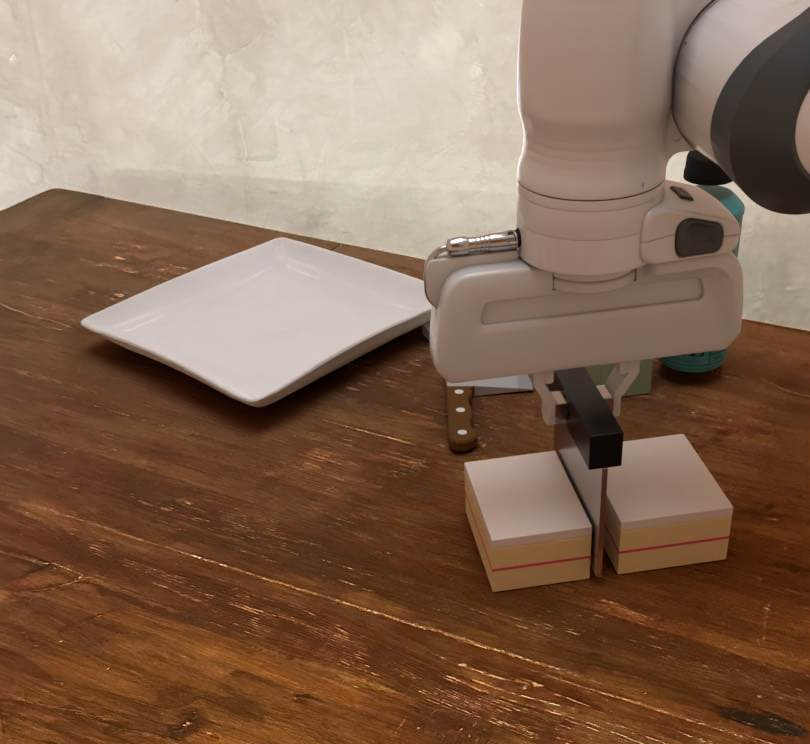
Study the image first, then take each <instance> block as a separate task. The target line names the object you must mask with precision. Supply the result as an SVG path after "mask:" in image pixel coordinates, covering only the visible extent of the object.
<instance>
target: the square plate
mask: <svg viewBox="0 0 810 744" xmlns="http://www.w3.org/2000/svg"><path fill="white" fill-rule="evenodd" d="M431 308H432V305H431V304H430V302H429V301H428V300H427V298H426V296H425V292H424V279H420V278H417V277H414V276H411V275H408V274H406V273H403V272H400V271H397V270H394V269H391V268H388V267H384V266H382V265H378V264H375V263H372V262H369V261H365V260H362V259H359V258H356V257H353V256H351V255H346V254H344V253H340V252H336V251H333V250H330V249H326V248H324V247H320V246H317V245H313V244H310V243H306V242H303V241H300V240H295V239H292V238H288V237H282V236H281V237H275V238H273V239H271V240H268V241H265V242H263V243H261V244H258V245H256V246H253V247H251V248H248V249H245V250H242V251H239V252H237V253H235V254H231V255H229V256H226V257H224V258H221V259H219V260H216V261H214V262H211V263H208V264H206V265H204V266H200V267H198V268H196V269H193V270H191V271H189V272H188V271H187V272H185V273H184V274H181V275H179V276H176V277H174V278H172V279H169V280H167V281H165V282H162V283H159V284H157V285H155V286H153V287H150V288H148V289H146V290H144V291H142V292H140V293H137V294H135V295H133V296H130V297H128V298H126V299H124V300H121V301H119V302H117V303H115V304H113V305H110V306H107V307H106V308H103V309H102V310H99V311H97V312H95V313H92V314H90V315H88V316H86V317H84V318H83V319H81V321H80V325H81V326H82V327H83V328H85V329H87V330H89V331H92V332H93V333H96V334H98V335H99V336H101V337H103V338H105V339H106V340H108V341H110V342H112V343H114V344H116V345H118V346H119V347H123V348H124V349H126V350H129V351H131V352H134V353H137V354H139V355H141V356H144V357H147V358H148V359H152V360H153V361H157V362H159V363H161V364H163V365H166V366H168V367H170V368H172V369H174V370H176V371H177V372H180V373H183V374H185V375H187V376H189V377H190V378H192V379H195V380H197V381H198V382H200V383H202V384H204V385H206V386H208V387H210V388H211V389H214V390H215V391H218V392H219V393H222V394H224V395H225V396H227V397H229V398H230V399H232V400H233V399H234V400H235V401H238V402H241V403H243V404H245V405H248V406H251V407H255V408H263V407H268V406H269V405H271V404H274V403H276V402H278V401H279V400H282V399H283V398H286V397H287V396H289V395H291V394H293V393H295V392H297V391H299V390H301V389H303V388H305V387H306V386H308V385H310V384H312V383H314V382H316V381H317V380H319V379H322V378H323V377H325V376H327V375H328V374H331V373H333V372H334V371H336V370H338V369H340V368H342V367H343V366H345V365H347V364H349V363H351V362H354V361H356V360H357V359H359V358H361V357H362V356H364V355H366V354H368V353H370V352H372V351H374V350H376V349H379V348H380V347H383V346H385V345H386V344H388V343H390V342H391V341H393V340H394V339H396V338H399V337H400V336H402V335H405V334H407V333H409V332H411V331H413V330H414V329H416V328H418V327H420V326H422V324H424V323H426V322H428V321H430V319H431Z"/></svg>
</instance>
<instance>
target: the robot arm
mask: <svg viewBox="0 0 810 744" xmlns="http://www.w3.org/2000/svg"><path fill="white" fill-rule="evenodd" d="M516 63H517V64H516V65H517V66H516V105H517V111H518V114H519V118H520V120H521V125H522V126H521V127H522V132H523V134H522V137H523V138H522V149H521V153H520V156H519V158H518V163H517V168H516V229H511V230H510V229H509V230H502V231H495V232H488V233H484V234H480V235H475V236H467V235H458V236H454V237H450V238H448V239H447V238H446V239H445V244H442V245H440V246H438V247H436V248H435V249H433V251H431V252H430V254H429V255H428V256H427V257H426V259H425V261H424V265H423V268H422V275H423V276H422V277H423V281H424V292H425V296H426V298H427V300H428V301H429V302H430V304H431V305H432V308H431V319H430V341H429V354H430V358H431V361H432V364H433V367H434V369H435V371H436V372H437V373H438V374H439V376H440V377H442V378H443V379H444V381H445V380H446V381H447V382H449V383H461V382H469V381H477V380H484V379H492V378H500V377H509V376H517V375H525V374H527V375H528V377H529V379H530V381H531V383H532V385H533V389H535V391H536V393H537V394H538V395H539V397H540V398H541V416H542V419H543V421H544V423H545V425H546V426H554V425H557V424H564V423H568V415H567V413H568V412H569V402H568V400H567V398H565V395H564V393H563V391H552V392H551V390H550V389H549V387H548V386H547V384H551V383H553V382H554V371H557V370H565V369H573V368H581V367H589V366H597V365H605V364H614V366H615V367H614V369H613V370H612V372H611V374H610V375H609V377H608V379H607V381H606V382H605V385H600V386H596V387H597V388H598V390H599V392H600V393H601V395H602V397H603V398H604V400H605V402H606V403H607V405H608V407H609V408H610V410H611V412H612V413H613V415H614V417H615V418H617V417H620V415H621V404H622V397H621V396H623V395H624V394H625V392H626V391H627V389H628V388H629V386H630V385H631V384H632V382H633V381H634V379H635V378H636V377H637V375H638V374H639V368H640V360H645V359H653V360H654V359H658V358H661V357H669V356H677V355H685V354H693V353H701V352H709V351H718V350H724V349H726V348H727V349H728V347H730V346H731V345H732V344H733V342H734V341H735V340H736V339H737V338H738V336H739V335H740V333H741V330H742V329H741V328H742V322H743V311H744V272H743V267H742V263H741V262H740V260H739V258H738V259H737V257H736V256H735V255H734V254H733V253H732V252H731V251H733V250H734V249H735V247H736V246H737V243H738V240H739V235H740V226H739V223H738V222H737V220H736V219H735V217H734V216H733V215H732V214H731V212H730V211H729V210H728V209H727V208H726V207H725V206H724V205H723V204H722V203H720V202H719V201H718V200H717V199H716V198H714V197H713V196H712V195H710V194H709V193H708V192H706V191H705V190H703V189H701V188H700V187H697V186H696V185H694V184H690V183H683V182H680V181H674V180H670V179H666V175H667V166H668V163H669V162H670V160H671V158H673V156H675V155H676V154H678V153H685V152H689V151H694V150H698V151H699V152H700V153H702V154H703V155H705V156H706V157H707V158H709V159H710V160H712V161H713V162H714V163H716V164H717V165H719V166H720V167H721V169H722V170H723V171H724V172H725V173H726V174H727V175H728V176H729V177H730V178H731V180H732V182H733V183H734V184H735V185H736V186H737V187H738V188H739V189H740V190H741V191H742V192H743V193H744V194H745V195H746V197H748V198H749V200H751V201H752V202H753V203H754V204H756V205H757V206H759V207H761V208H763V209H765V210H767V211H770V212H773V213H776V214H782V215H793V216H797V215H798V216H799V215H809V214H810V0H522V1H521V9H520V19H519V31H518V44H517V62H516ZM443 253H446V254H443ZM623 397H624V396H623Z"/></svg>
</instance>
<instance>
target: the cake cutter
mask: <svg viewBox="0 0 810 744" xmlns="http://www.w3.org/2000/svg"><path fill="white" fill-rule="evenodd" d="M547 386H548V387H549V389H550V390H551V392H552V391H563V393H564V395H565V398H567V400H568V402H569V412H568V413H567V415H568V423H564V424H557V425H553V426H554V427H553V451H556V453H557V456H558V458H559V460H560V462H561V464H562V466H563V468H564V470H565V472H566V474H567V476H568V478H569V480H570V482H571V484H572V486H573V488H574V490H575V492H576V495H577V497H578V499H579V501H580V503H581V505H582V507H583V509H584V511H585V513H586V515H587V517H588V519H589V521H590V523H591V525H592V535H591V536H592V539H591V559H590V567H591V568H592V571H593V573H594V575H595V577H596V578H599V577H600V578H601V577H602V576H603V561H604V529H605V512H606V495H607V477H608V467H616V466H621V464H622V449H623V442H624V430H623V428H622V427H621V425H620V424H619V422H618V420H617V417H614V415H613V413H612V412H611V410H610V408H609V407H608V405H607V403H606V402H605V400H604V398H603V397H602V395H601V393H600V392H599V390H598V388H597V387H596V385H595V383H594V382H593V380H592V378H591V376H590V375H589V373H588V371H587V370H586V368H585V367H581V368H573V369H565V370H557V371H554V382H553V383H551V384H547Z"/></svg>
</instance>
